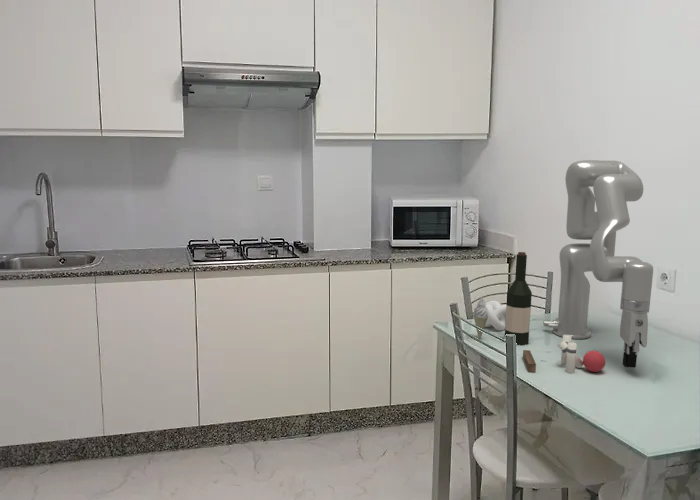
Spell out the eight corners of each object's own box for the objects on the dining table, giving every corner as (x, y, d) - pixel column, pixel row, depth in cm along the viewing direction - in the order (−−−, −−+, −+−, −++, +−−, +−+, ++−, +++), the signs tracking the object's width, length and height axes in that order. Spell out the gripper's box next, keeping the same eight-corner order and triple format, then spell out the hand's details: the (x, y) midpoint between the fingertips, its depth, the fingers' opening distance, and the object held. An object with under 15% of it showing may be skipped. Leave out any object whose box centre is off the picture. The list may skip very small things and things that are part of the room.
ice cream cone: (488, 337, 203) (490, 294, 200) (486, 342, 198) (488, 298, 196) (473, 336, 205) (475, 293, 202) (470, 340, 200) (473, 296, 197)
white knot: (505, 322, 222) (506, 298, 220) (518, 332, 210) (520, 307, 208) (476, 323, 220) (477, 299, 219) (487, 333, 209) (489, 308, 207)
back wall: (528, 372, 172) (528, 363, 172) (522, 357, 184) (523, 350, 184) (535, 372, 172) (536, 364, 172) (529, 358, 184) (530, 350, 183)
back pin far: (561, 364, 179) (563, 337, 178) (560, 361, 181) (562, 334, 180) (570, 364, 179) (572, 337, 177) (568, 362, 181) (570, 334, 180)
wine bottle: (500, 337, 204) (505, 250, 198) (523, 337, 204) (529, 250, 199) (508, 345, 195) (513, 254, 190) (533, 345, 196) (539, 254, 191)
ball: (595, 351, 170) (612, 362, 170) (588, 343, 176) (605, 354, 176) (582, 368, 171) (600, 378, 171) (575, 360, 177) (592, 370, 177)
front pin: (578, 369, 175) (558, 347, 175) (576, 366, 177) (556, 345, 178) (584, 364, 175) (565, 342, 175) (583, 361, 177) (563, 339, 177)
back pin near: (566, 373, 172) (568, 344, 171) (564, 369, 175) (566, 341, 173) (575, 373, 172) (577, 345, 170) (573, 370, 174) (575, 342, 173)
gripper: (658, 312, 163) (651, 376, 166) (640, 299, 178) (634, 358, 181) (629, 311, 164) (623, 375, 167) (613, 297, 179) (608, 356, 182)
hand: (629, 366), depth 174 cm, fingers closed
